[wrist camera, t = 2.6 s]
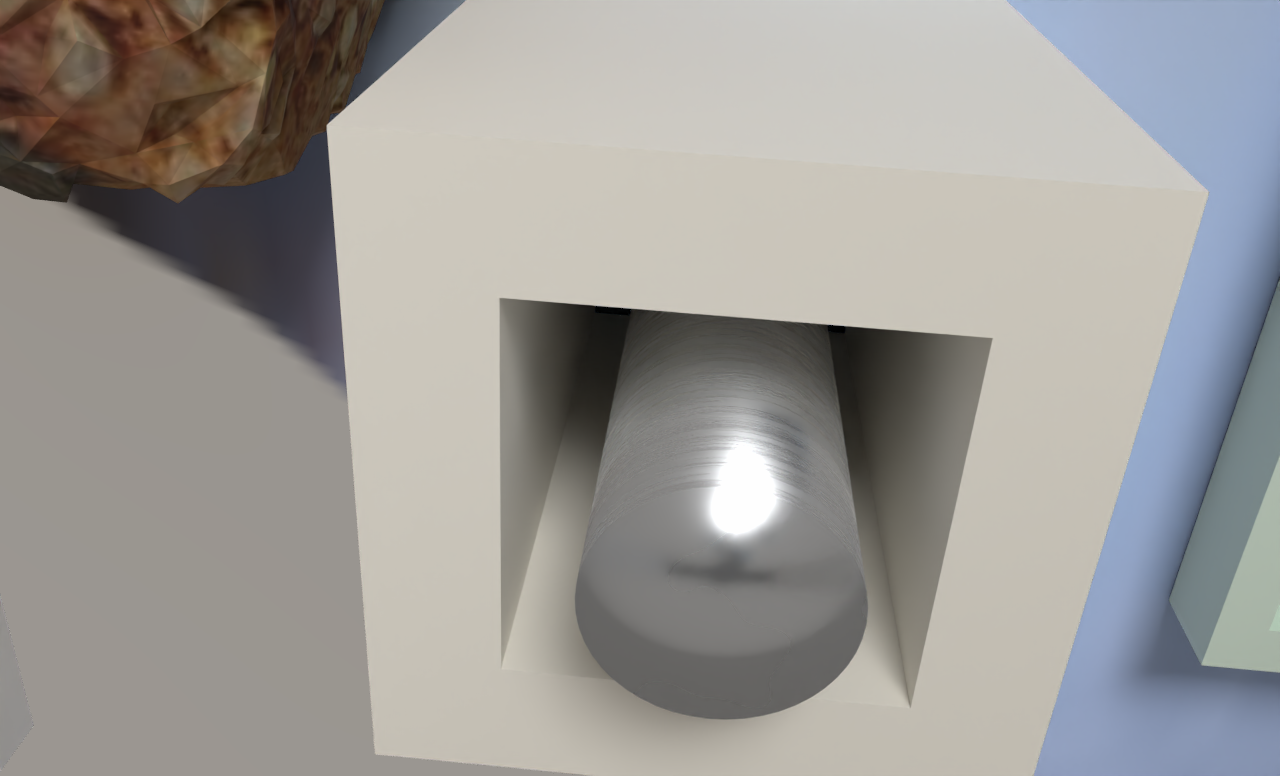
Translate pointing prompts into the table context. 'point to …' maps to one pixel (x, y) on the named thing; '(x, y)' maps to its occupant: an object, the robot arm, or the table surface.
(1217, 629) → the tray
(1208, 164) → the table surface
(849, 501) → the grey metal cylinder
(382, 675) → the hollow block
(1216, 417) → the table surface
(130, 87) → the bread
